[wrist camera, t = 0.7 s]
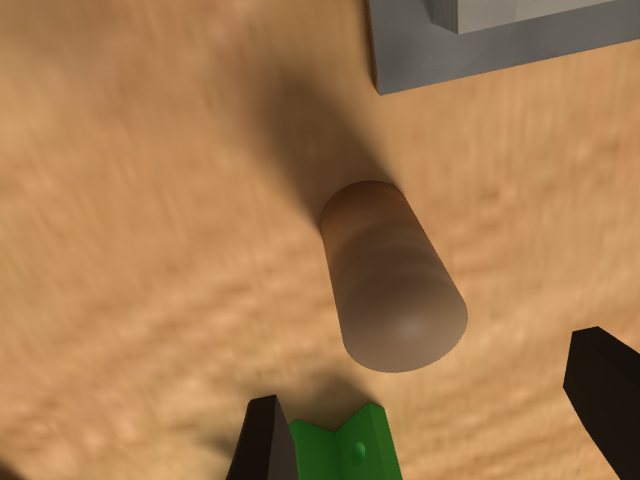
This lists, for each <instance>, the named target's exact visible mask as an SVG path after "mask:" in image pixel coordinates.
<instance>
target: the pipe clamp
mask: <svg viewBox="0 0 640 480" xmlns="http://www.w3.org/2000/svg"><path fill="white" fill-rule="evenodd" d="M288 427H289V430H290V433H291V435H292V438H293V441H294V443H295V451H296V460H297V469H298V479H299V480H403V479H402V475H401V471H400V467H399V463H398V460H397V456H396V452H395V448H394V444H393V440H392V436H391V432H390V429H389V425H388V421H387V417H386V413H385V409H384V408H382V407H379V406H377V405H375V404H372V403H370V402H368V403H367V404H366V405H365V406H364V407H363V408H361V409H360V410H359V411H358V412H357V413H356V414H355V415H354V416H353V417H352V418H350V419H349V420H348V421H347V422H346V423H345V424H344V425H343V426H342V427H341V428H340V429H338V430H337V431H336V432H335V433H334V432H331V431H328V430H326V429H323V428H320V427H317V426H315V425H312V424H309V423H306V422H304V421H301V420H298V419H295V420H294V421H293V422H292V423H291V424H290V425H289V426H288Z"/></svg>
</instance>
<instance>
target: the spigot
mask: <svg viewBox="0 0 640 480" xmlns="http://www.w3.org/2000/svg"><path fill="white" fill-rule="evenodd" d="M320 228H321V234H322V239H323V244H324V249H325V254H326V259H327V264H328V269H329V274H330V279H331V284H332V289H333V293H334V298H335V303H336V308H337V313H338V318H339V323H340V328H341V333H342V338H343V343H344V346H345V348H346V350H347V352H348V354H349V355H350V356H351V357H352V358H353V359H354V360H355V361H356V362H357V363H359V364H360V365H362V366H364V367H366V368H369V369H371V370H375V371H379V372H387V373H398V372H406V371H412V370H416V369H419V368H422V367H425V366H427V365H429V364H432V363H433V362H435V361H437V360H439V359H440V358H442V357H443V356H445V355H446V354H447V353H448V352H449V351H451V350H452V349H453V348H454V346H455V345H456V344H457V343H458V342H459V340H460V339H461V337H462V335H463V334H464V331H465V329H466V325H467V320H468V313H467V307H466V304H465V302H464V300H463V298H462V296H461V295H460V293H459V291H458V289H457V288H456V286H455V284H454V282H453V281H452V279H451V277H450V275H449V274H448V272H447V270H446V268H445V267H444V265H443V263H442V261H441V260H440V258H439V256H438V254H437V253H436V251H435V249H434V247H433V246H432V244H431V242H430V240H429V239H428V237H427V235H426V233H425V232H424V230H423V228H422V226H421V225H420V223H419V221H418V219H417V218H416V216H415V214H414V212H413V211H412V209H411V207H410V205H409V203H408V202H407V200H406V198H405V197H404V196H403V194H402V193H401V192H400V191H399V190H397V189H396V188H395V187H393V186H391V185H389V184H386V183H384V182H379V181H362V182H357V183H354V184H351V185H349V186H347V187H345V188H343V189H341V190H340V191H339V192H337V193H336V194H335V195H334V196H333V197H332V198H331V199H330V200H329V201H328V203H327V205H326V206H325V208H324V210H323V213H322V216H321V222H320Z"/></svg>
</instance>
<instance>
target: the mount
mask: <svg viewBox="0 0 640 480" xmlns="http://www.w3.org/2000/svg"><path fill="white" fill-rule="evenodd" d="M366 8H367V17H368V26H369V34H370V43H371V52H372V60H373V69H374V78H375V86H376V91H377V93H378V94H379V95H380V96H381V95H385V94H390V93H394V92H399V91H403V90H408V89H413V88H417V87H422V86H426V85H431V84H435V83H440V82H445V81H449V80H454V79H458V78H463V77H467V76H472V75H477V74H481V73H486V72H490V71H495V70H500V69H504V68H509V67H513V66H518V65H522V64H527V63H532V62H536V61H541V60H545V59H550V58H554V57H559V56H564V55H568V54H573V53H577V52H582V51H586V50H591V49H596V48H600V47H605V46H609V45H614V44H618V43H623V42H628V41H632V40H637V39H640V0H366Z"/></svg>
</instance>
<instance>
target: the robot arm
mask: <svg viewBox="0 0 640 480" xmlns="http://www.w3.org/2000/svg"><path fill="white" fill-rule="evenodd" d="M563 388H564V390H565V392H566V394H567V396H568V398H569V400H570V402H571V404H572V406H573V407H574V409H575V411H576V413H577V415H578V417H579V418H580V420H581V422H582V424H583V426H584V427H585V429H586V430H587V432H588V433H589V435H590V436H591V438H592V439H593V441H594V442H595V444H596V445H597V447H598V448H599V450H600V451H601V452H602V454H603V455H604V457H605V458H606V460H607V461H608V463H609V464H610V465H611V467H612V468H613V470H614V471H615V473H616V474H617V475H618V477H619V478H620V480H640V354H639V353H638V352H636V351H635V350H633V349H632V348H630V347H629V346H627V345H626V344H624V343H623V342H621V341H620V340H618V339H617V338H615V337H614V336H612V335H611V334H609V333H608V332H606V331H605V330H603V329H601V328H600V327H598V326H596V327H592V328H587V329H582V330H577V331H573V332H572V337H571V343H570V349H569V355H568V360H567V366H566V372H565V378H564V383H563ZM226 480H299V479H298V469H297V460H296V451H295V443H294V441H293V438H292V435H291V433H290V430H289V427H288V425H287V422H286V419H285V417H284V414H283V411H282V409H281V406H280V403H279V401H278V398H277V395H271V396H266V397H261V398H257V399H252V400H251V401H250V402H249V403H248V406H247V411H246V415H245V419H244V423H243V426H242V430H241V434H240V437H239V441H238V444H237V447H236V450H235V454H234V457H233V460H232V463H231V466H230V469H229V472H228V475H227V477H226Z"/></svg>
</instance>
